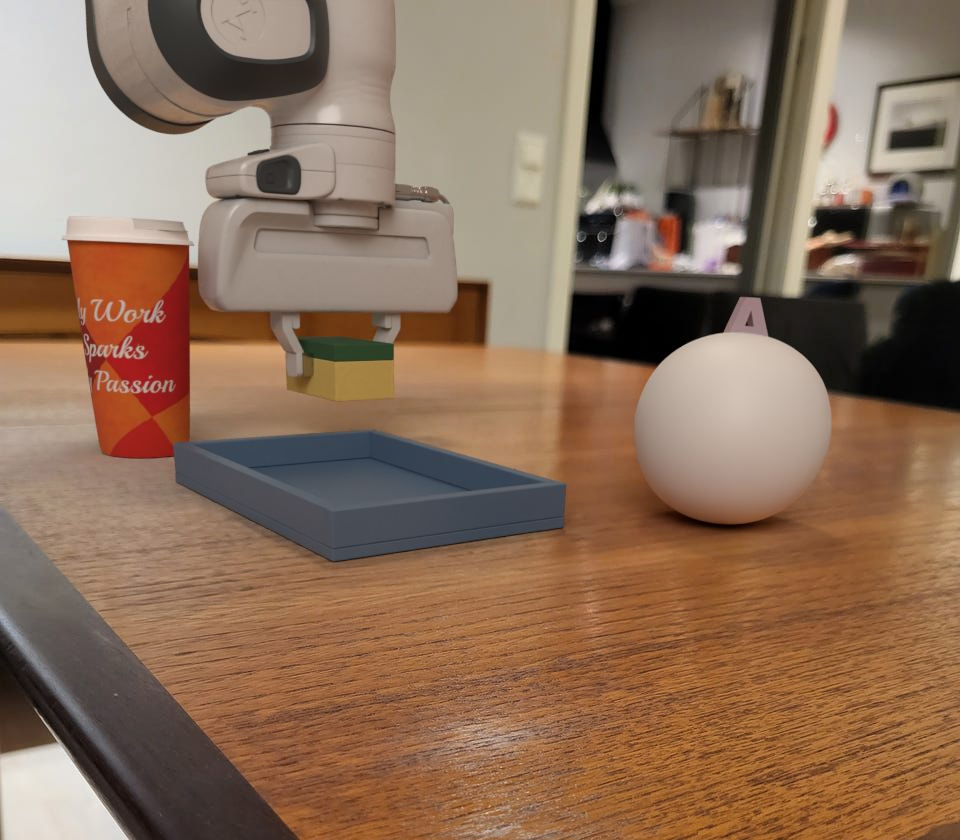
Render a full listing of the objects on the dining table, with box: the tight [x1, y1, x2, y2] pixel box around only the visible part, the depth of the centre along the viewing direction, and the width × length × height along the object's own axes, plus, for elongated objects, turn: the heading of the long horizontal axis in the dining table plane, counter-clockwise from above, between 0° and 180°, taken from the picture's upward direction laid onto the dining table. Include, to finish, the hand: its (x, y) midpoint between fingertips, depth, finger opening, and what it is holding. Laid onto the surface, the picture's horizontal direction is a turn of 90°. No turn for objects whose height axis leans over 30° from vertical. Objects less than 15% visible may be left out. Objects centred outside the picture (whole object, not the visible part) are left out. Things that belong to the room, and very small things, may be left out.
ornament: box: [633, 296, 833, 525], centre depth 55 cm, size 10×10×12 cm
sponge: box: [285, 336, 395, 402], centre depth 77 cm, size 8×5×4 cm, turn 37°
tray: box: [173, 428, 567, 562], centre depth 57 cm, size 20×14×2 cm
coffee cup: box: [61, 215, 195, 459], centre depth 68 cm, size 8×8×15 cm
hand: (337, 375), depth 77 cm, fingers closed on sponge, 5 cm apart
